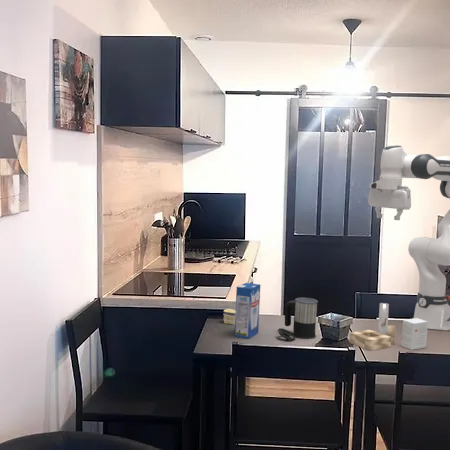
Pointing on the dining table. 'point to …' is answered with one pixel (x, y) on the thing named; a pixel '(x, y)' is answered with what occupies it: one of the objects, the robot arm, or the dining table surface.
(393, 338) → the beech stub
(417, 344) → the small box
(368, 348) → the oak collar block
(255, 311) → the milk carton
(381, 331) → the steel pin
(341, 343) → the dining table surface
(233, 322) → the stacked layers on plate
